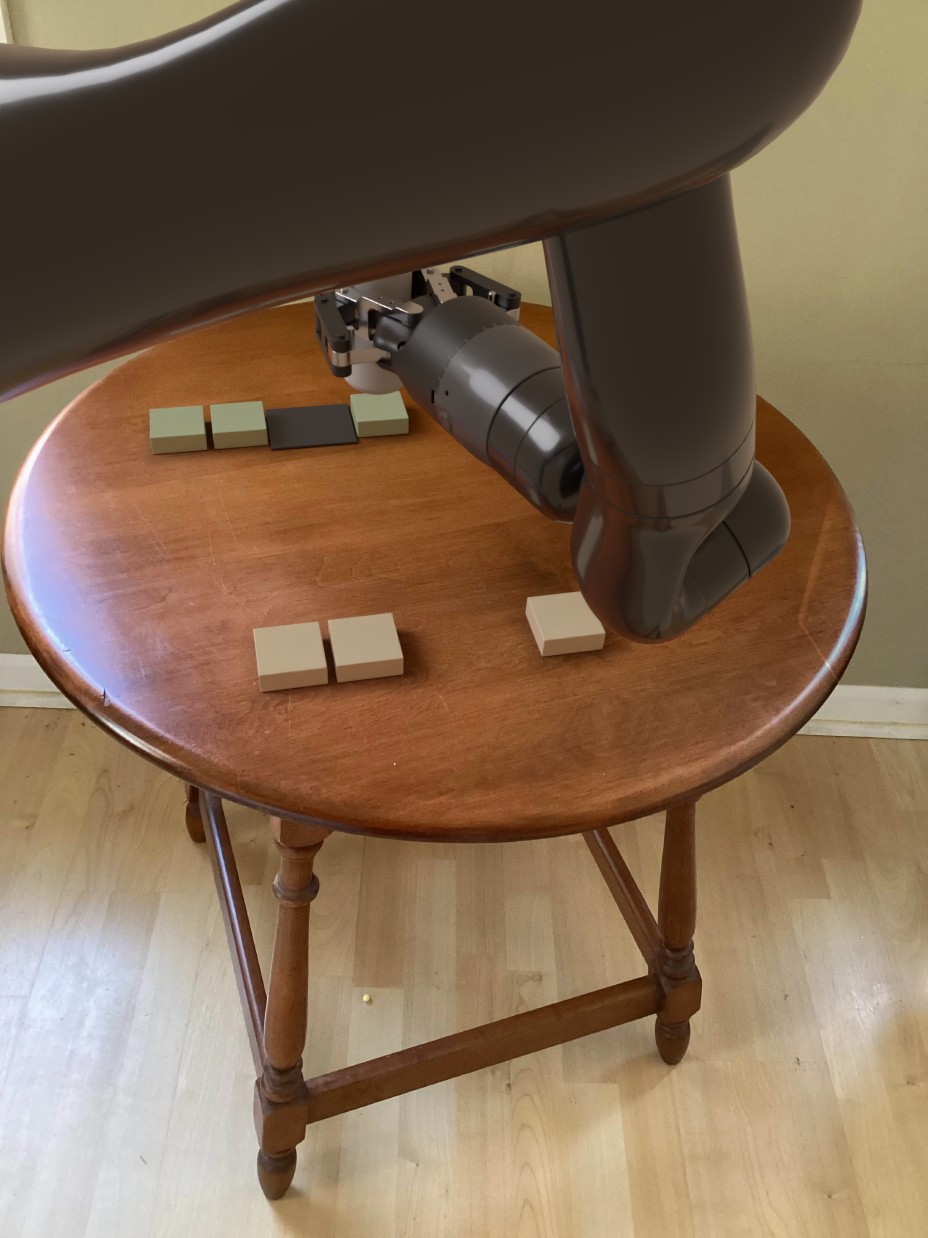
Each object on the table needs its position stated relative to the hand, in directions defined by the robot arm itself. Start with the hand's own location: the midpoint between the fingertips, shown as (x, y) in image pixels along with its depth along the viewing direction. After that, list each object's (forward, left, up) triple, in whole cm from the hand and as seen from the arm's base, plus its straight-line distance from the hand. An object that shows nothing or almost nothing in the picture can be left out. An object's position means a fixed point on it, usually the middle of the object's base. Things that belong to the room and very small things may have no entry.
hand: (357, 271), depth 71 cm
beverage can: (+1, -3, -7) cm, 8 cm away
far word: (-4, +10, -19) cm, 22 cm away
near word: (+2, -18, -19) cm, 26 cm away
